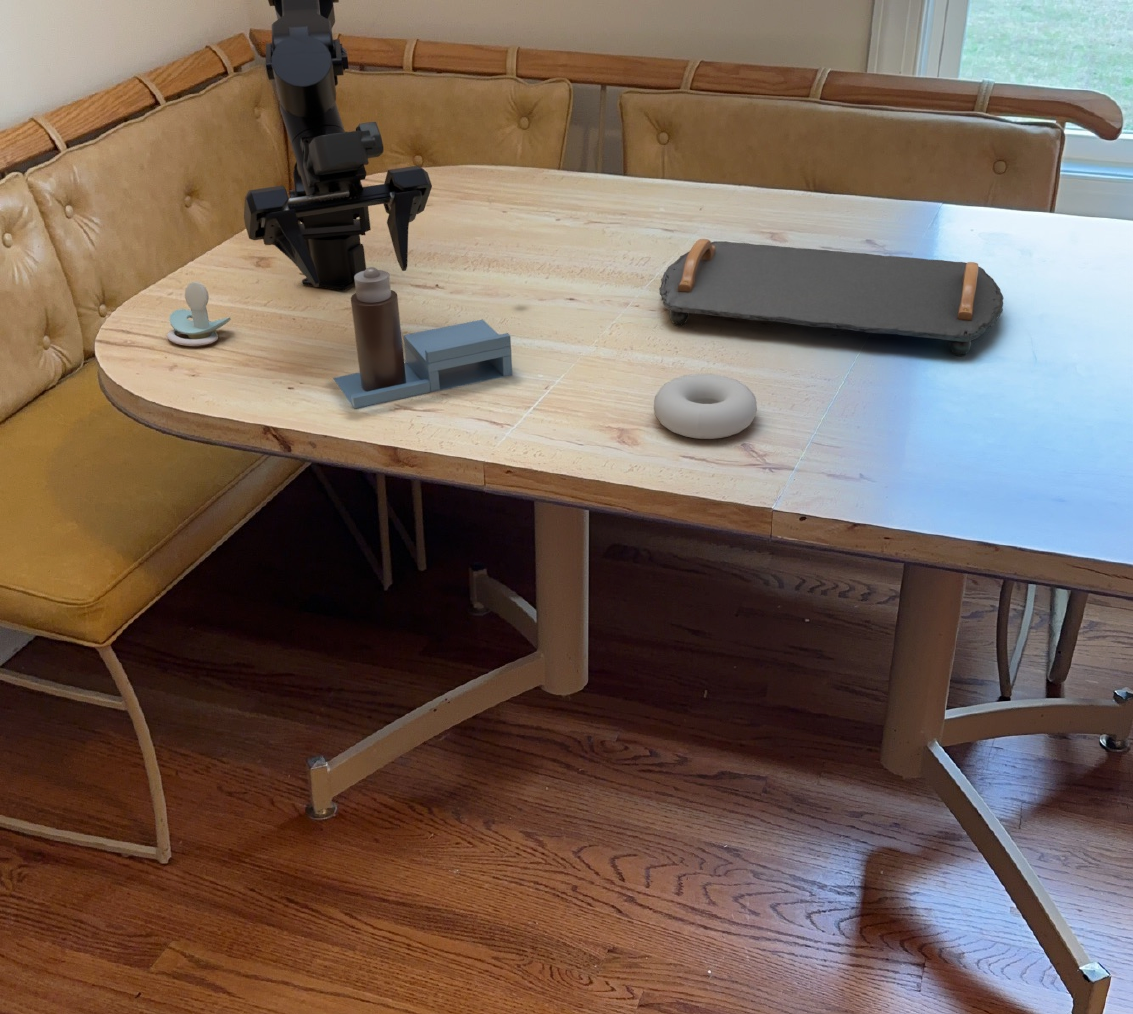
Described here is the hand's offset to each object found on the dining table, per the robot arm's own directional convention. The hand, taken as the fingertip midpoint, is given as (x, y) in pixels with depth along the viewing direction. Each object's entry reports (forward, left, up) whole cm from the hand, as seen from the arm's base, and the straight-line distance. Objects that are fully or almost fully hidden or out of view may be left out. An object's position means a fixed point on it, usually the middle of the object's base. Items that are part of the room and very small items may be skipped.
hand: (361, 276), depth 122 cm
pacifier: (-24, +1, -11) cm, 27 cm away
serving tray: (+40, +35, -11) cm, 54 cm away
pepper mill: (+3, -2, -10) cm, 11 cm away
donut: (+36, +3, -11) cm, 38 cm away
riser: (+6, +1, -11) cm, 13 cm away
